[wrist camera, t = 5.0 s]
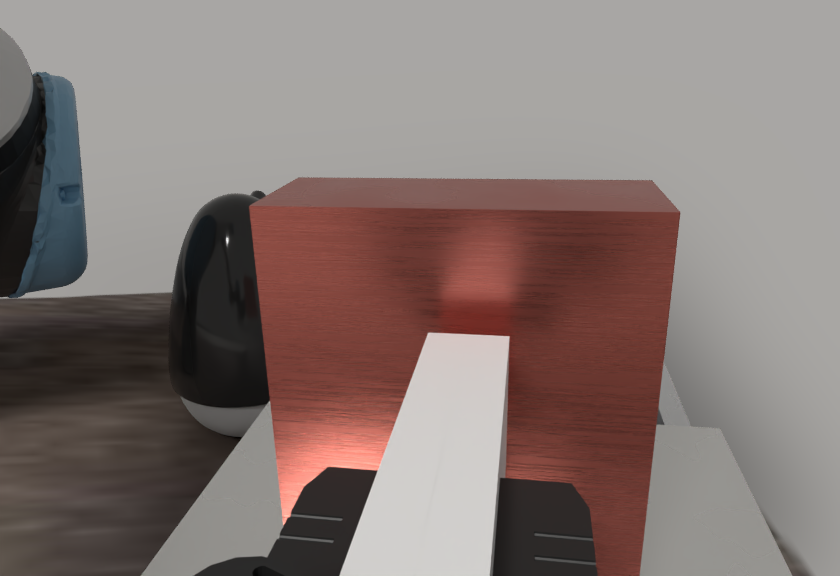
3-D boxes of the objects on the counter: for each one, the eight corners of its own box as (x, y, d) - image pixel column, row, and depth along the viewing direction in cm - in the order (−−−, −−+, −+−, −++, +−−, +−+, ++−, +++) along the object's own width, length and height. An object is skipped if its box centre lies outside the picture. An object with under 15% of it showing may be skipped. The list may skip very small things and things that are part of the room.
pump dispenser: (346, 380, 50) (333, 177, 45) (317, 461, 40) (297, 213, 35) (212, 379, 51) (184, 178, 46) (152, 458, 41) (108, 214, 36)
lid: (1043, 1193, 9) (1494, 438, 5) (-86, 956, 11) (-365, 337, 7) (715, 457, 24) (762, 139, 20) (272, 427, 27) (241, 139, 23)
